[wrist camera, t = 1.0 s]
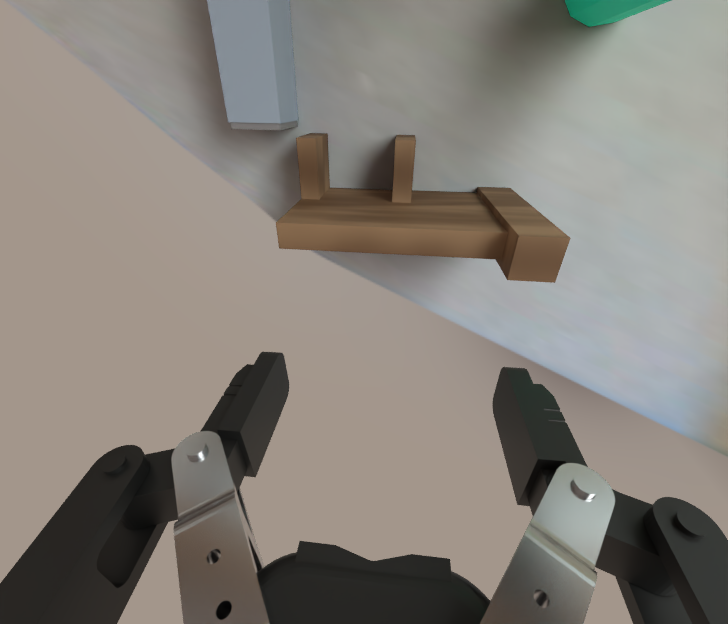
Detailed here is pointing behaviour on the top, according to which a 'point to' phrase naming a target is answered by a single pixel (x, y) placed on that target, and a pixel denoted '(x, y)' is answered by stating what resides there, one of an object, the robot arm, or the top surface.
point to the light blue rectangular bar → (255, 62)
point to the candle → (607, 10)
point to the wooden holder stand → (418, 218)
